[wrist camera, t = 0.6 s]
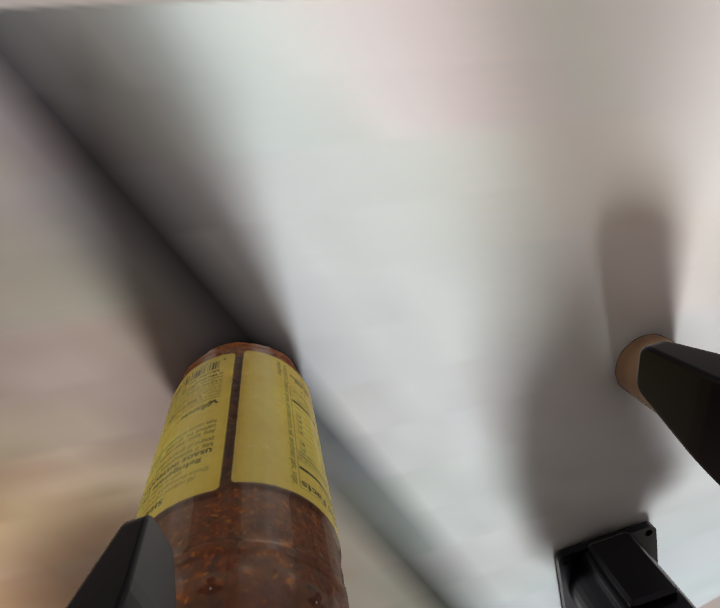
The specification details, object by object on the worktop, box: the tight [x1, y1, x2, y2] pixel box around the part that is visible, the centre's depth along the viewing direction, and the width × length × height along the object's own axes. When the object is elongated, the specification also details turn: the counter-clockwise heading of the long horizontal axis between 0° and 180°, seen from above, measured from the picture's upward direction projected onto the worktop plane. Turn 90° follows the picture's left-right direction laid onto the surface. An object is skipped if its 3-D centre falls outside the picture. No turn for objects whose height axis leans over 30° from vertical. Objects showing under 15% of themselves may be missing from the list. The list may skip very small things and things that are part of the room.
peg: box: [615, 334, 675, 412], centre depth 23 cm, size 4×4×8 cm
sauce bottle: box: [136, 342, 349, 608], centre depth 15 cm, size 6×6×20 cm
